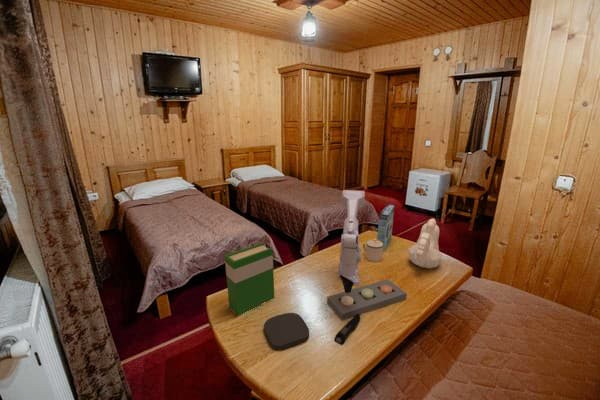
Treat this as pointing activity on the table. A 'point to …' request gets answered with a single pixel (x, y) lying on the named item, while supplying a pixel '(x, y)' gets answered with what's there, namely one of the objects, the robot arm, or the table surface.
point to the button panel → (365, 305)
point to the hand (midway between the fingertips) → (347, 291)
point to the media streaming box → (286, 331)
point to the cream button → (347, 300)
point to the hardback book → (249, 277)
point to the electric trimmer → (347, 329)
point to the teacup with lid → (374, 250)
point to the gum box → (385, 225)
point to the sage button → (367, 293)
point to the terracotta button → (386, 289)
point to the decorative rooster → (426, 247)
